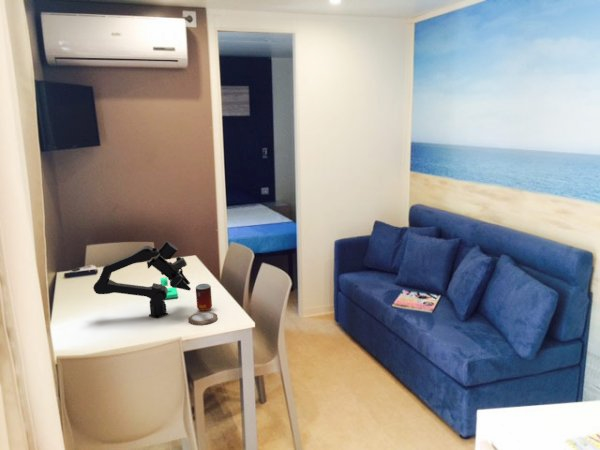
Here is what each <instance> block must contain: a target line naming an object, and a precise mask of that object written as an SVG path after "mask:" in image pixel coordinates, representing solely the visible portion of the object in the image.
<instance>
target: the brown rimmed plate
mask: <svg viewBox="0 0 600 450" xmlns="http://www.w3.org/2000/svg"><path fill="white" fill-rule="evenodd" d="M217 320H218V314H217V313H215V312H211V311H207V312H200V311H199V312H197V313H193V314H192V315H190V316H188V318H187V321H188V323H189V324H190V325H192V326H206V325H210V324H214V323H215V322H216V321H217Z"/></svg>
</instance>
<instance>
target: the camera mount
mask: <svg viewBox="0 0 600 450" xmlns="http://www.w3.org/2000/svg"><path fill="white" fill-rule="evenodd" d="M168 281H169V280H168V277H166V276H165V277H160V284H162V285H163V286H165V287H166V288H167V286H169V284H168ZM177 289H178V288H173V287H168V288H167V290H168V293H167V297H166V299H171V298H178V297H179V296H178V295H179V294H178V290H177Z"/></svg>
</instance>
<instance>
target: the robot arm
mask: <svg viewBox="0 0 600 450" xmlns="http://www.w3.org/2000/svg"><path fill="white" fill-rule="evenodd" d="M178 252H179V249H178V247H177V246H176V245H174V243H171V242H169V241H168V240H166V241H165V242H164V244H163V245H162V246H161V247H160V248H159V247H152V246H150V245H145V246H143V247H141V248H140V249H138V250H137V251H135V252H133V253H132V254H130V255H128V256H127V255H126V256H125V257H122V258H120V259H118V260H115V261H113V262H110V263H106V264H105V265H104V266H103V268H102V272H100V273H101V274H100V276H99V278H98V279H97V281H96V282H95V283H94V285H93V287H92V288H93V291H94V292H95V294H97V295H108V294H109V295H110V294H114V293H116V294H123V295H132V296H139V297H147V298H148V299H150V300H149V310H150V311H149V314H148V317H151V318H154V319H159V318H162V317H165V316H167V315H169V313H168V312H167V304H166V302H165V300H166V299H167V298H166V297H167V293H168V290H167V286H163V285H162V284H161V283H160V284H159V283H155V282H154V283H152V286H143V285H135V284H127V283H120V282H116V281H114V280H112V279H110V278H111V276H112V273H114V272H117V271H118V270H121V269H123V268H127V267H128V266H131V265H134V264H136V263H143V262H146V265H147V269H151V267H153V268H155V269H156V270H157V271H158V272H160V274H161V276H163V275H164V276H165V277H167V281H169V285H170V288H176V289H181V290H184V291H188V292H189V291H190V290H191V287H190V286H189V285H190V284H191V282H190V281H189V280H188V278H187V277H186V276H185V275H184V273H183V272H184V271H183V268H184V267H186V266H187V265H188V263H187V261H186V259H185V258H184V257H181V256H177V257H176V258H175V259H176V260H175V261H174V262H172V261H168V260H171V259H172V258H173V257H174V256H175V255H176V254H177V253H178Z"/></svg>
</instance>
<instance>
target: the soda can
mask: <svg viewBox="0 0 600 450" xmlns="http://www.w3.org/2000/svg"><path fill="white" fill-rule="evenodd" d="M211 288H212V286H211V284H209V283H201V284H197V285H196V287H195V296H196V309H198V311H199V313H200V312H211V311H212V306H213V301H212V289H211Z"/></svg>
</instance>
